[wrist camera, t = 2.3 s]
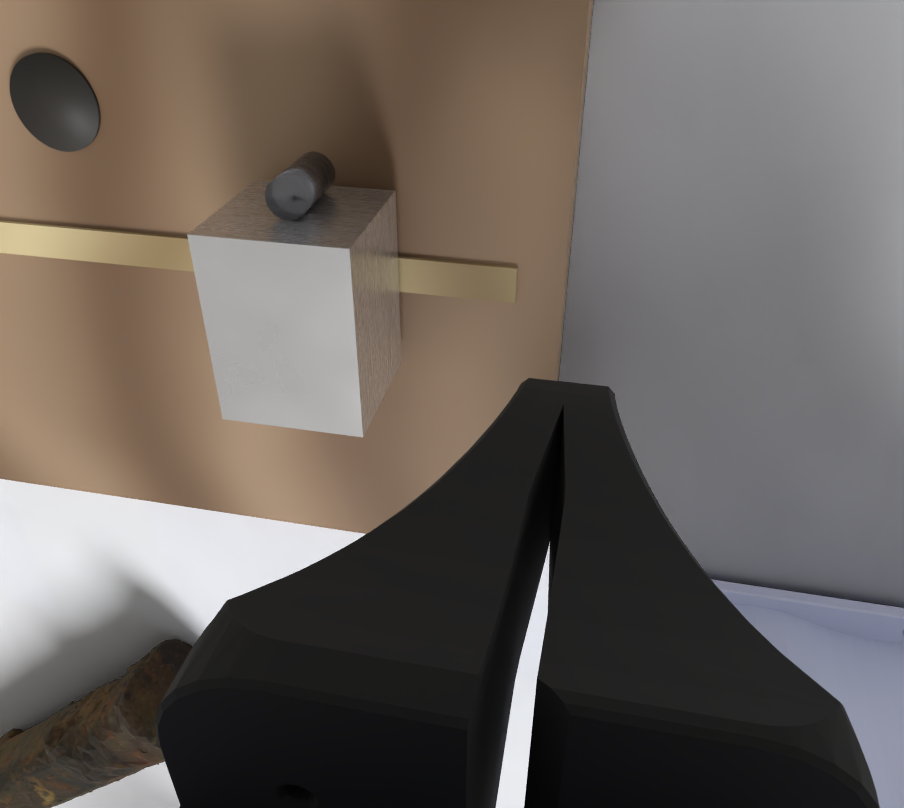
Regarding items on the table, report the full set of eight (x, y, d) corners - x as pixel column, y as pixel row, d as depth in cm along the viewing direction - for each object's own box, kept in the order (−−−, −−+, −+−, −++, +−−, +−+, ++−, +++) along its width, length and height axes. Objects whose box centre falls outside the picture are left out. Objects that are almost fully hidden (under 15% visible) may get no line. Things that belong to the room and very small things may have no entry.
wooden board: (597, -42, 15) (576, -6, 11) (545, 522, 23) (522, 662, 19) (-294, -64, 18) (-558, -42, 14) (-70, 434, 26) (-200, 537, 22)
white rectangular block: (394, 150, 16) (346, 204, 13) (401, 360, 18) (363, 437, 16) (250, 140, 16) (178, 190, 14) (278, 347, 19) (222, 419, 16)
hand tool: (175, 616, 29) (102, 727, 25) (250, 683, 30) (192, 798, 27) (-61, 732, 38) (-140, 826, 35) (5, 780, 40) (-64, 876, 36)
